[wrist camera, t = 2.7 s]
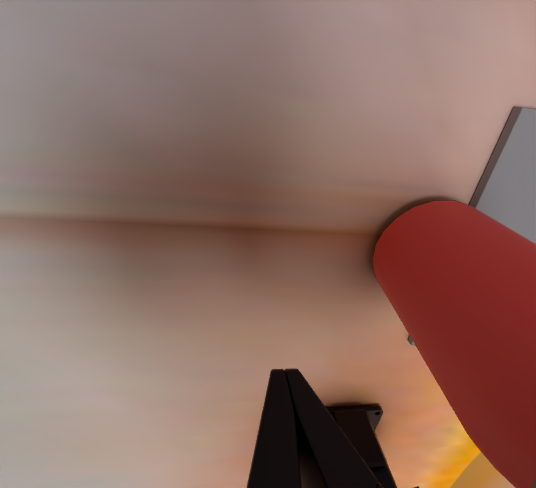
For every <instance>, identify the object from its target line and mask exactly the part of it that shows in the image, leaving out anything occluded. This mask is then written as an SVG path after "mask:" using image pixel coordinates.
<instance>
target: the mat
mask: <svg viewBox="0 0 536 488" xmlns="http://www.w3.org/2000/svg"><path fill="white" fill-rule="evenodd" d="M469 205H470V206H472V207H474V208H476V209H477V210H479V211H481V212H482V213H484V214H486V215H487V216H489V217H491V218H493V219H494V220H496V221H498V222H499V223H501V224H503V225H504V226H506V227H508V228H509V229H511V230H513V231H515V232H516V233H518V234H520V235H521V236H523V237H525V238H526V239H528V240H530V241H531V242H533V243H535V244H536V109H529V108H520V107H514V108H513V110H512V112H511V114H510V117H509V119H508V121H507V123H506V125H505V127H504V130H503V132H502V134H501V136H500V138H499V141H498V143H497V145H496V147H495V149H494V152H493V154H492V156H491V158H490V160H489V163H488V165H487V167H486V169H485V171H484V174H483V176H482V178H481V180H480V182H479V185H478V187H477V189H476V191H475V193H474V196H473V198H472V200H471V202H470V204H469ZM408 341H409V343H410V344H411V345H415V343H414V342H413V340H412V338H411V337H410V336H409V338H408Z"/></svg>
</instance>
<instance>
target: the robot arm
mask: <svg viewBox="0 0 536 488" xmlns="http://www.w3.org/2000/svg"><path fill="white" fill-rule="evenodd" d="M382 414H383V410H382V408H381V406H360V407H341V408H326V407H325V406H324V405H323V403H322V402H321V400H320V399H319V398H318V396H317V395H316V393H315V392H314V391H313V389H312V388H311V386H310V385H309V384H308V382H307V381H306V379H305V378H304V377H303V375H302V374H301V372H300V371H299V370H298V369H285V370H283V369H272V370H271V372H270V377H269V382H268V387H267V392H266V397H265V401H264V406H263V411H262V416H261V421H260V426H259V431H258V435H257V440H256V445H255V450H254V455H253V460H252V464H251V469H250V474H249V479H248V484H247V488H397V486H396V484H395V481H394V479H393V476H392V474H391V471H390V469H389V466H388V464H387V461H386V458H385V456H384V453H383V451H382V448H381V446H380V444H379V441H378V439H377V436H376V434H375V429H376V427H377V425H378V423H379V421H380V418H381V416H382ZM414 488H419V487H414Z"/></svg>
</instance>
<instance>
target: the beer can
mask: <svg viewBox="0 0 536 488" xmlns="http://www.w3.org/2000/svg"><path fill="white" fill-rule="evenodd" d="M373 268H374V273H375V277H376V278H377V280H378V282H379V283H380V285H381V287H382V289H383V290H384V292H385V294H386V295H387V297H388V299H389V301H390V302H391V304H392V306H393V307H394V309H395V311H396V313H397V314H398V316H399V318H400V319H401V321H402V323H403V325H404V326H405V328H406V330H407V331H408V333H409V335H410V337H411V338H412V340H413V342H414V343H415V345H416V347H417V349H418V350H419V352H420V354H421V355H422V357H423V359H424V361H425V362H426V364H427V366H428V367H429V369H430V371H431V373H432V374H433V376H434V378H435V379H436V381H437V383H438V385H439V386H440V388H441V390H442V391H443V393H444V395H445V396H446V398H447V400H448V402H449V403H450V405H451V407H452V408H453V410H454V412H455V414H456V415H457V417H458V419H459V420H460V422H461V424H462V426H463V427H464V429H465V431H466V432H467V434H468V435H469V437H470V438H471V439H472V441H473V442H474V443H475V445H476V446H477V447H478V448H479V450H480V451H481V452H482V453H483V454H484V456H485V457H486V458H487V459H488V460H489V461H490V463H491V464H492V465H493V466H494V467H495V468H496V469H497V470H498V471H499V472H500V473H501V474H502V475H503V476H504V477H505V478H506V479H507V480H508V481H509V482H510V483H511V484H513V486H514V487H516V488H536V244H535V243H533V242H531V241H530V240H528V239H526V238H525V237H523V236H521V235H520V234H518V233H516V232H515V231H513V230H511V229H509V228H508V227H506V226H504V225H503V224H501V223H499V222H498V221H496V220H494V219H493V218H491V217H489V216H487V215H486V214H484V213H482V212H481V211H479V210H477V209H476V208H474V207H472V206H470V205H467V204H464V203H461V202H457V201H433V202H429V203H426V204H422V205H419V206H416V207H413V208H412V209H410V210H408V211H407V212H405V213H403V214H402V215H400V216H398V217H397V218H396V219H395V220H394V221H393V222H392V223H391V224H390V225H389V226H388V227H387V228H386V229H385V230H384V231H383V233H382V235H381V237H380V239H379V240H378V242H377V244H376V246H375V251H374V257H373Z"/></svg>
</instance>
